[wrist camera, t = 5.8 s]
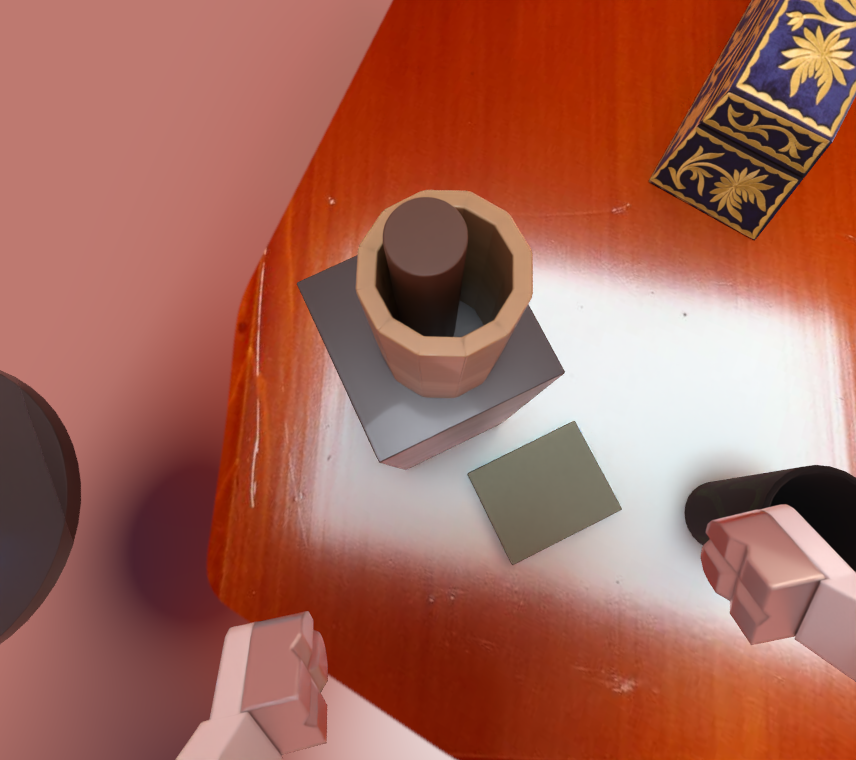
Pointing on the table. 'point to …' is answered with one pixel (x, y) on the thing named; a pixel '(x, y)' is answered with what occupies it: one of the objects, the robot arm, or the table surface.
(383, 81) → the table surface
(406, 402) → the peg stand
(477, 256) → the orange hollow cylinder
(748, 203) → the decorative box
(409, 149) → the table surface
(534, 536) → the felt coaster
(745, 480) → the cup
